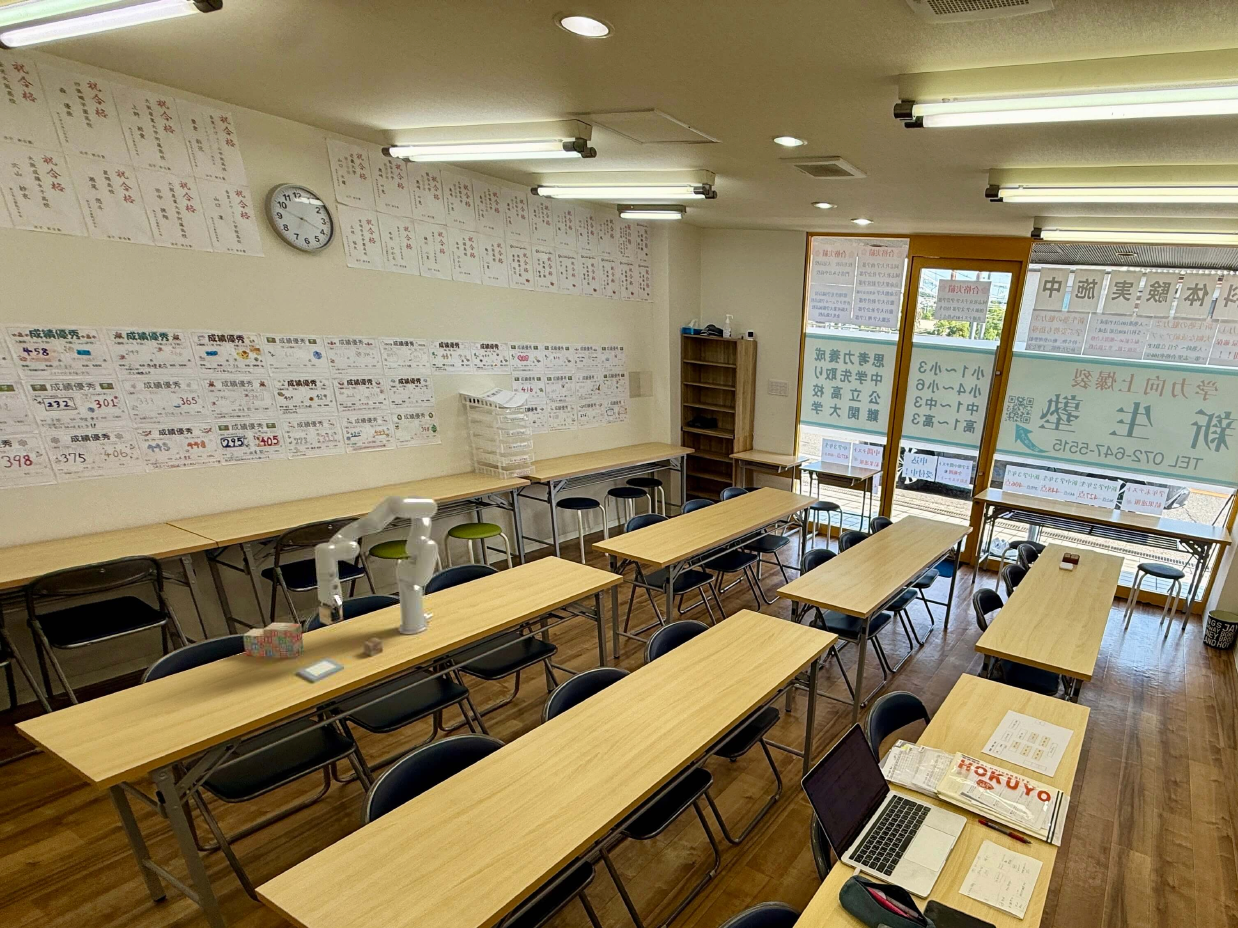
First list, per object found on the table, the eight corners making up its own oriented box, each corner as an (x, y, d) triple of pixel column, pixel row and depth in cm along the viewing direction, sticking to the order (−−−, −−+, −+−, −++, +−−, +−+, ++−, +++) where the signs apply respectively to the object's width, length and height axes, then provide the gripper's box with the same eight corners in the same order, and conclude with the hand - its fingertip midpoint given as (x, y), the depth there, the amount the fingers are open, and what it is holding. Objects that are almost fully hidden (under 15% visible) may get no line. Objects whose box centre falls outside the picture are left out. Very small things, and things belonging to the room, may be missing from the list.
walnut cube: (375, 648, 241) (374, 637, 240) (382, 651, 238) (381, 640, 238) (364, 653, 237) (363, 642, 236) (371, 656, 234) (370, 645, 233)
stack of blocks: (245, 656, 236) (241, 628, 233) (256, 648, 242) (252, 621, 240) (294, 658, 233) (291, 630, 231) (304, 651, 240) (301, 623, 238)
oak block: (334, 615, 233) (333, 601, 232) (342, 619, 229) (341, 605, 228) (319, 621, 228) (318, 606, 227) (328, 624, 224) (326, 610, 223)
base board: (327, 660, 232) (326, 657, 232) (344, 668, 225) (344, 665, 225) (296, 673, 222) (296, 670, 222) (313, 682, 215) (313, 679, 215)
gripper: (349, 576, 224) (352, 620, 227) (325, 567, 233) (328, 610, 236) (330, 582, 218) (334, 627, 220) (306, 573, 227) (310, 616, 230)
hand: (331, 618), depth 228 cm, fingers closed on oak block, 6 cm apart
